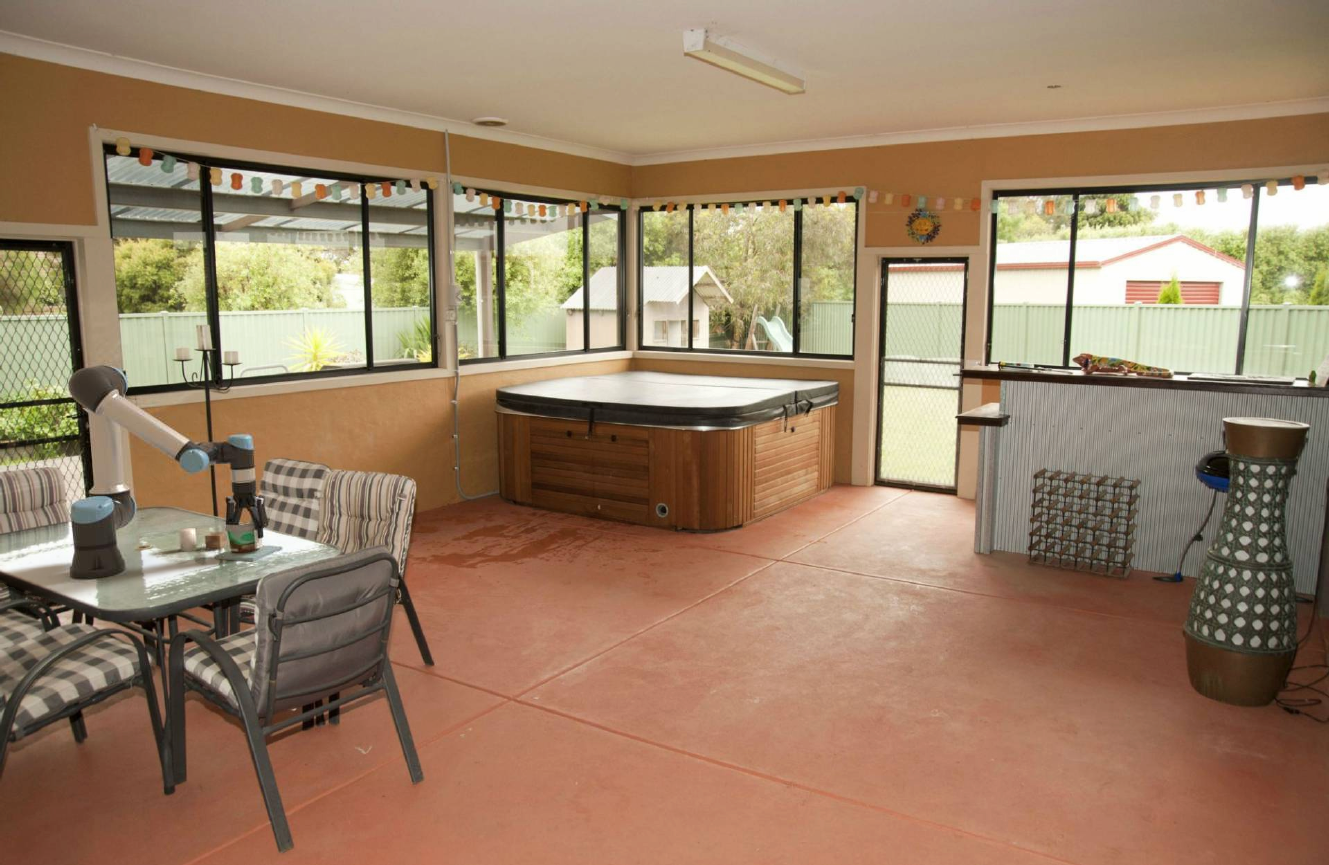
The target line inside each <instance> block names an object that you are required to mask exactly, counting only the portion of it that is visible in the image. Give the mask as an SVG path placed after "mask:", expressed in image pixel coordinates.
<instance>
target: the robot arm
mask: <svg viewBox="0 0 1329 865" xmlns="http://www.w3.org/2000/svg"><path fill="white" fill-rule="evenodd" d="M67 386H68V391H69V394H70V396H71V397H72V398H73V400H74V401H76V402H77V403H78V404H79V405H81V406H82V410H84V411H86V413H87V414H88V423H89V435H90V436H89V439H90V447H91V448H90V449H91V450H90V451H91V459H92V461H91V462H92V475H93V486H92V487H91V489H90V490H88V495H89V497H85V498H82V499H79V500H76V501H75V502H73V503H72V504H71V506H70V512H69V517H70V523H71V531H72V539H73V540H72V541H73V542H72V543H73V550H74V551H73V557H72V560H71V561H72V562H71V566H70V568H69V576H70V578H73V579H79V580H80V579H81V580H85V579H86V580H87V579H89V580H90V579H98V578H103V577H104V578H105V577H109V576H110V577H111V576H113V575H117V574H120V573H123V572H124V571H125V570H126V561H125V559H124V558H123V556H122V553H121V551H120V549H119V547H118V541H117V530H120V529H122V528H124V527H126V526H127V525H128V524H129V523H130V522H132V520H133V519H134V517H135V515H136V514H137V509H138V508H137V507H138V506H137V503H136V500H135V498H134V497H133V496H132V495H131V488H130V486H128V485H127V484H126V483H125V476H124V475H125V473H124V459H123V446H122V434H121V432H122V431H121V427H122V428H124V429H125V430H127V431H129V433H132V434H133V435H134V436H137V437H138V438H140V439H141V440H143V441H144V442H146V443H148V444H149V445H150V446H152V447H154V448H155V449H157V450H158V451H161V452H162V453H163V454H165V455H166V456H168V457H170V458H171V459H173V460H175V461H176V462H178V463H179V465H180V468H181V469H182V470H183V471H184V472H187V473H188V474H197V473H201V472H204V471H205V470H206V469H208V468H209V467H211V466H213V465H228V464H229V470H230V480H231V481H232V482H231V483H230V484H231V492H232V493H233V495H231V496H228V497H225V499H224V500H225V503H226V511H225V512H226V513H225V526H226V525H238V524H240V522H241V521H240V520H241V517H242V513H243V510H244V509H246V511H247V512H249V514H250V517H251V519H252V522H254V524H255V527H256V529H255V530H254V536H255V549H258V548H260V547H263V545H264V544H263V538H264V529H265V527H268V526H269V521H268V516H267V511H266V508H265V507H266V506H265V503H266V502H265V501H266V500H265V499H266V498H265V497H258V496H257V494H256V492H257V481H256V478H257V477H256V467H255V449H254V448H255V446H254V444H253V437H252V436H251V435H250V434H245V433H244V434H243V433H242V434H232V435H229V436H228V437H227V440H226V441H200V442H199V441H198V442H193V441H192V440H190V439H189V438H187V437H185V436H184V435H182V434H181V433H179V432H178V431H176V430H175V429H173V428H171V427H170V426H168V425H166V424H165V423H163V422H162V421H161V420H159V419H158V418H156V417H155V416H153V415H151V414H150V413H148V412H146V411H145V410H143V408H140V407H139V406H137V405H135V404H134V403H133V402H131V401H129V400H128V399H126V398H125V397H124V395H126V392H127V391H128V387H129V381H128V379H127V377H126V375H125V373H124V372H122V371H121V370H120V369H118V368H117V367H115V366H111V365H103V364H102V365H94V366H91V367H90V366H89V367H84V368H80V369H78V370H76V371H75V372H74V373H72V375H71V376H70V377H69V381H68V385H67Z"/></svg>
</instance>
